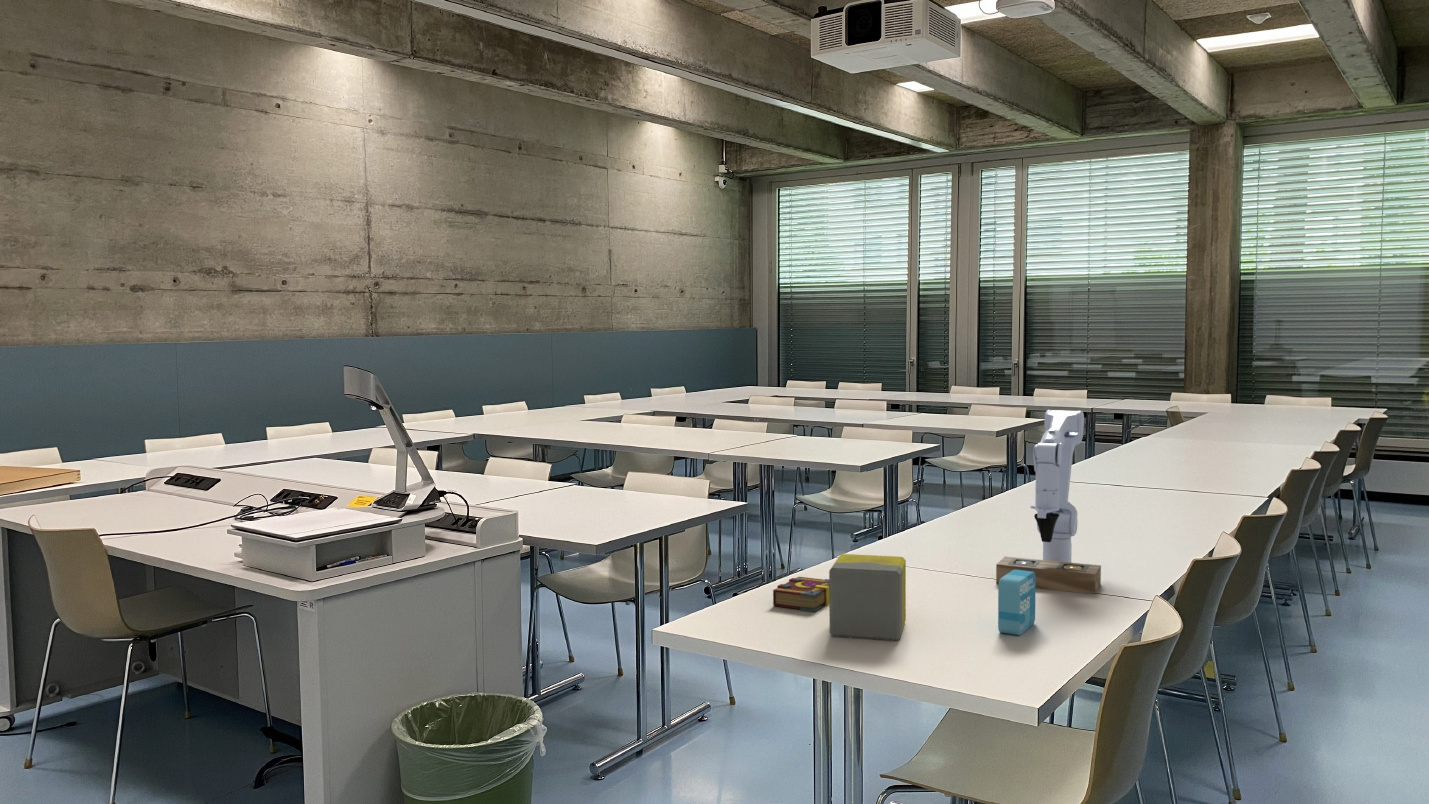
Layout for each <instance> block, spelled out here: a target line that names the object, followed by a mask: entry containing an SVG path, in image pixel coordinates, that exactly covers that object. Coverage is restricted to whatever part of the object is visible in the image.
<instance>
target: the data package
mask: <svg viewBox="0 0 1429 804" xmlns="http://www.w3.org/2000/svg"><path fill="white" fill-rule="evenodd" d="M1035 587H1036V576H1035V573H1034V572H1032V571H1023V570H1013V571H1011V572H1010V573H1008V574H1007V575H1005V576H1003V577H1002V578H1001V579H1000V580H999V584H998V588H997V589H998V591H997V593H998V595H997V598H998V600H997V601H998V605H997V606H998V607H997V609H998V610H997V628H998V632H999V633H1001V634H1008V635H1014V636H1021V635H1022V634H1023V633H1025V632H1026V631H1028V630H1029V628H1031V627H1032V626H1033V625H1034V624H1035V621H1036V588H1035Z"/></svg>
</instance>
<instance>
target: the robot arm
mask: <svg viewBox="0 0 1429 804" xmlns="http://www.w3.org/2000/svg"><path fill="white" fill-rule="evenodd" d="M1044 414H1045V415H1044V430H1045V432H1044V433H1043V435H1042V437H1041V440H1040V441H1039V442H1038V443H1037V444H1034V446H1033V450H1032V459H1033V469H1034V472H1035V495H1034V496H1035V501H1034V502H1035V504H1031V505H1030V509H1034V510H1036V513H1034V516H1033V517H1034V519H1035V521H1036V529H1037V531H1038V533H1039V535H1040V539H1041V542H1042V560H1048V561H1059V562H1069V563H1072V549H1073V548H1072V545H1073V544H1072V537H1074V536H1075V535H1076V534H1077V532H1078V531H1077V530H1078V510H1077V508H1076V507H1075V505H1073V504H1072V503H1071V502H1070V501H1069V495H1070V494H1069V492H1070V483H1071V476H1072V475H1071V474H1072V463H1073V457H1074V451H1075V447H1076V446H1077V445H1080V444H1081V443H1082V442H1083V441H1082V440H1083V437H1084V427H1085V415H1084V412H1083V411H1082V410H1056V409H1055V410H1054V409H1047V410H1046V411H1045V413H1044Z"/></svg>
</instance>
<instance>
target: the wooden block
mask: <svg viewBox="0 0 1429 804" xmlns="http://www.w3.org/2000/svg"><path fill="white" fill-rule="evenodd" d="M1016 561H1030V562H1032V563H1033V565H1025V564H1016ZM1067 565H1074V566H1080V567H1082V570H1076V569H1066V568H1064V566H1067ZM995 569H996V571H995V572H996V573H995V583H996V584H998V585H999V580H1000V579H1001V578H1002V577H1003V576H1005V575H1007V574H1008V573H1010V572H1011V571H1013V570H1023V571H1032V572H1034V573H1035V576H1036V587H1035V589H1043V590H1054V591H1064V592H1073V593H1082V594H1090V595H1092V594H1093V595H1096V593H1097V591H1098V590H1099V588H1100V587H1101V586H1102V583H1101V582H1102V581H1101V578H1102V565H1099V564H1089V563H1079V562H1071V563H1069V562H1059V561H1048V560H1043V559H1035V558H1027V557H1025V558H1024V557H1015V556H1014V557H1013V556H1004V557H1003V558H1002V559H1001V560H1000V561H998V562H997V563H996V567H995Z"/></svg>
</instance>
